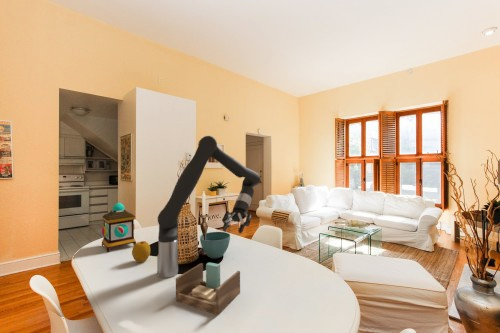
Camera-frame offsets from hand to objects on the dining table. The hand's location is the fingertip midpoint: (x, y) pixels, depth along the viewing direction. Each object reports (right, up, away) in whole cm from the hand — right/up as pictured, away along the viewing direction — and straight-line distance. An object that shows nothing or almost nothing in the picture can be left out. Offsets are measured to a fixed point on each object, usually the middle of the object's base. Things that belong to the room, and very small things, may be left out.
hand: (231, 231), depth 111 cm
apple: (-54, -24, +23) cm, 63 cm away
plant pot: (-12, -24, +31) cm, 41 cm away
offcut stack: (-9, -22, -20) cm, 31 cm away
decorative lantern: (-82, -24, +50) cm, 99 cm away
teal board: (-7, -22, -14) cm, 27 cm away
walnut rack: (-8, -23, -17) cm, 30 cm away
